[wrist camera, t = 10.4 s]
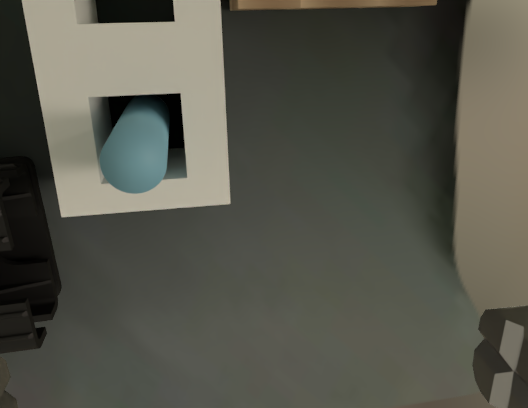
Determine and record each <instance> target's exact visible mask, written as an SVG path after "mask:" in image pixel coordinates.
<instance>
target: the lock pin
mask: <svg viewBox="0 0 528 408" xmlns="http://www.w3.org/2000/svg"><path fill="white" fill-rule="evenodd" d="M169 122H170V113H169V109H168V107H167V105H166V104H165V102H164V101H163V100H162V99H161V98H159V97H157V96H155V95H152V94H150V95H137V96H135V97H134V98H132V99H131V100H130V101H129V103H128V104H127V106H126V108H125V110H124V111H123V113H122V115H121V117H120V118H119V120H118V122H117V124H116V125H115V127H114V129H113V130H112V132H111V134H110V136H109V137H108V139H107V141H106V143H105V144H104V146H103V148H102V150H101V154H100V168H101V171H102V174H103V175H104V177H105V179H106V180H107V181H108V182H109V183H110V184H111V185H112V186H113V187H115V188H116V189H118V190H120V191H123V192H126V193H132V194H138V193H144V192H147V191H149V190H151V189H153V188H154V187H156V186H157V185H158V184H159V183H160V182H161V181H162V179H163V177H164V175H165V173H166V169H167V157H168V139H169Z"/></svg>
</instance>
